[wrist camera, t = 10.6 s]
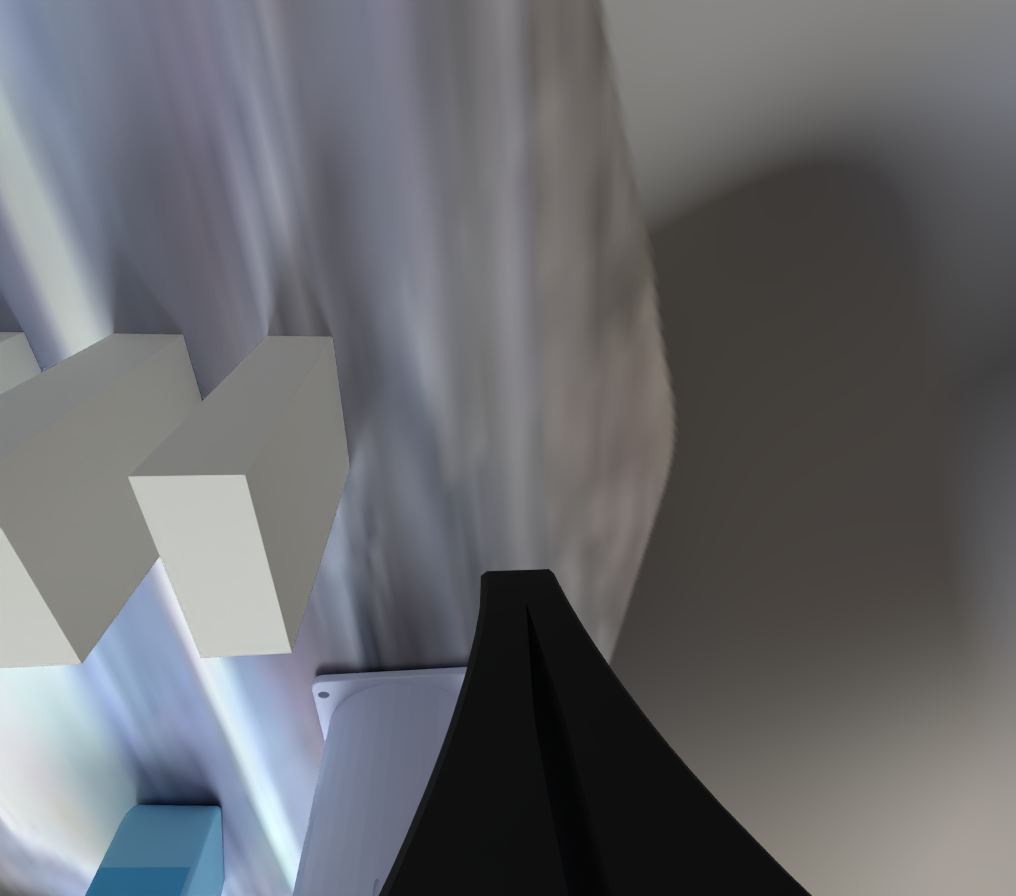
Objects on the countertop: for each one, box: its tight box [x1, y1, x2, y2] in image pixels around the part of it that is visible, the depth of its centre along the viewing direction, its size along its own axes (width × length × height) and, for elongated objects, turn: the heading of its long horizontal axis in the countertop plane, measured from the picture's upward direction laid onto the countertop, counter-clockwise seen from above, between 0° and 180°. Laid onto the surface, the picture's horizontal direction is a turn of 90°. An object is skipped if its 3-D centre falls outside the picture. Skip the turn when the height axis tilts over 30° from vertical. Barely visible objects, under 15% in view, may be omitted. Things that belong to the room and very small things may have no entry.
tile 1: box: [128, 336, 350, 658], centre depth 14 cm, size 5×2×8 cm, turn 177°
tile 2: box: [0, 333, 202, 668], centre depth 13 cm, size 5×2×8 cm, turn 177°
